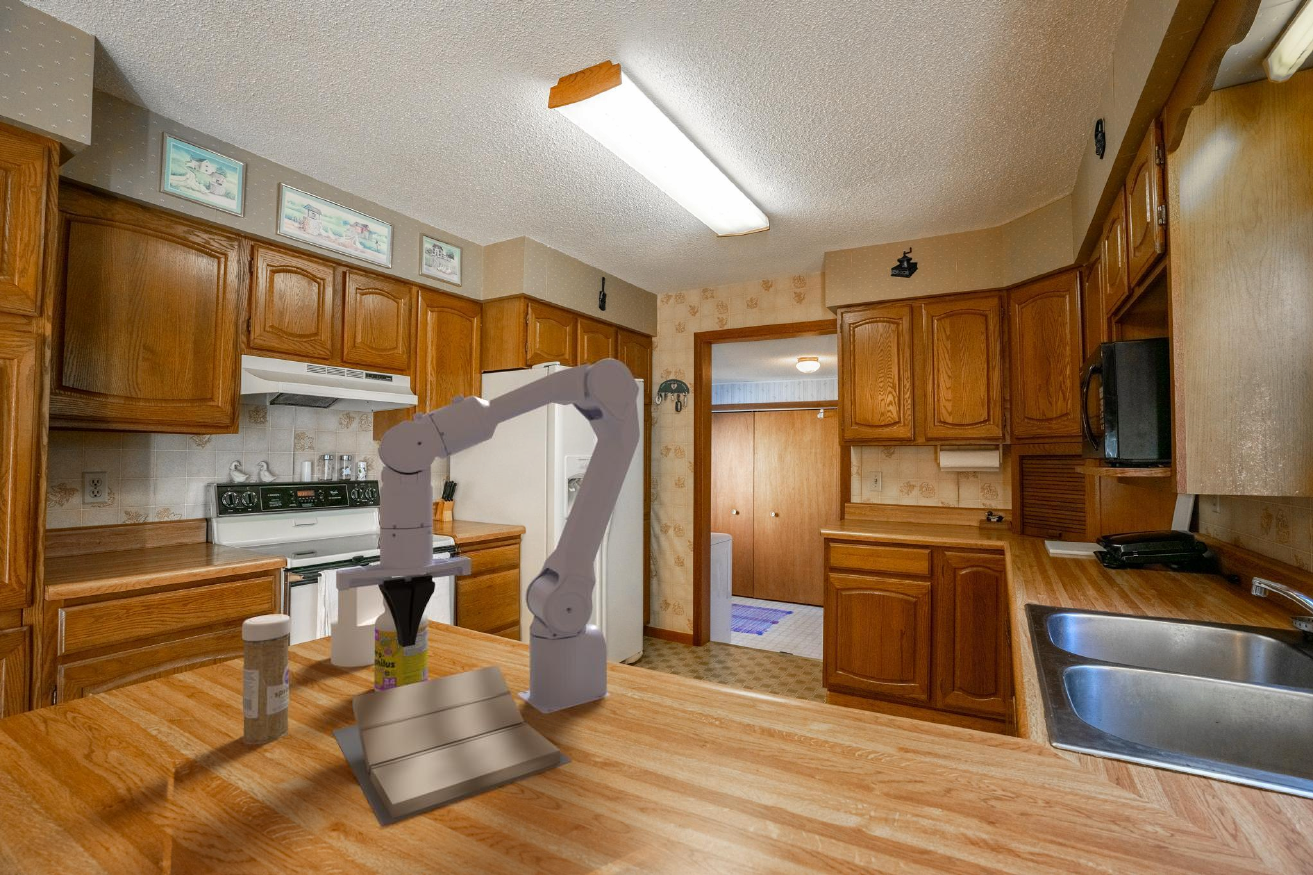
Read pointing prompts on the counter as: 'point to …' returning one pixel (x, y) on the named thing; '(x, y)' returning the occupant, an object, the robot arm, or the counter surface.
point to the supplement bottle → (399, 654)
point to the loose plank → (433, 714)
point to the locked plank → (461, 768)
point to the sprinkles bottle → (265, 678)
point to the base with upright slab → (356, 626)
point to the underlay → (356, 760)
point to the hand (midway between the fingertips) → (406, 644)
